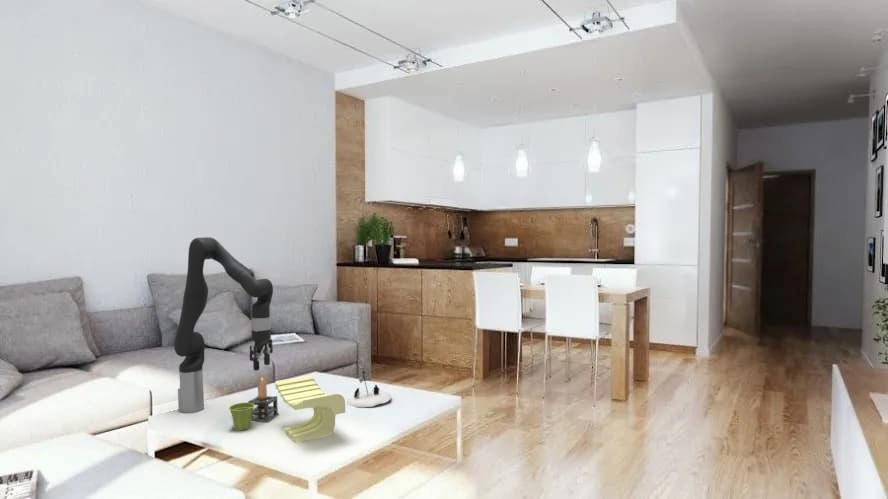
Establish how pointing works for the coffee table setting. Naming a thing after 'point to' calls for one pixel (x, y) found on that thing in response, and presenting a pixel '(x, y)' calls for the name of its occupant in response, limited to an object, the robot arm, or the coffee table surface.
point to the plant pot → (241, 415)
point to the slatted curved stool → (310, 396)
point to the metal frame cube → (269, 410)
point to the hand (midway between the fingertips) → (261, 367)
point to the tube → (262, 393)
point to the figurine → (368, 395)
